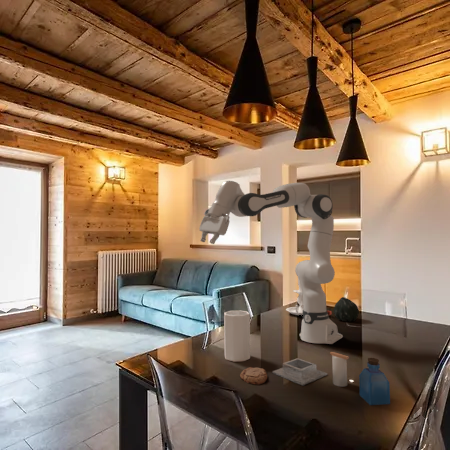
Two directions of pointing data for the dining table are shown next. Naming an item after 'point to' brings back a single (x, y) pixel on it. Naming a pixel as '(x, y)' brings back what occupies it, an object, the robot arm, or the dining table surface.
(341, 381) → the white lidded jar
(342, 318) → the squash
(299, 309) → the candlestick
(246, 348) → the cup
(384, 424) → the dining table surface
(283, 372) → the duct collar
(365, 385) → the perfume bottle
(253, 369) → the cookie
